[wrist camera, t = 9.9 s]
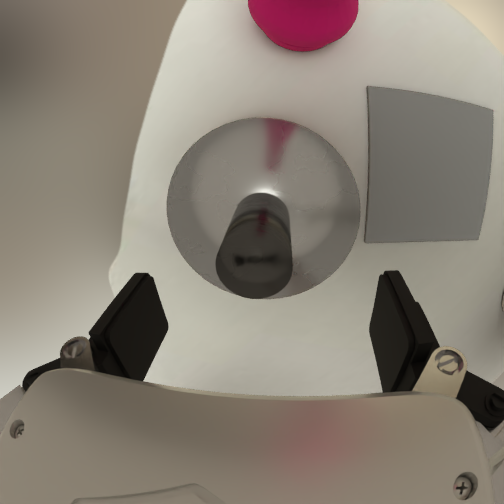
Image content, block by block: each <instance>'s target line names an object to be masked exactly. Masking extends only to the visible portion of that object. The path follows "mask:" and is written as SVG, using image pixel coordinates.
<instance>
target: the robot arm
mask: <svg viewBox="0 0 504 504" xmlns="http://www.w3.org/2000/svg"><path fill="white" fill-rule="evenodd" d="M502 308H503V312H504V295H503V300H502ZM167 331H168V322H167V319H166V316H165V313H164V310H163V307H162V304H161V301H160V298H159V295H158V292H157V288H156V285H155V282H154V279H153V277H152V276H150V275H149V274H148V273H135V274H134V275H133V276H132V277H131V279H130V280H129V281H128V282H127V284H126V285H125V286H124V287H123V289H122V290H121V291H120V292H119V294H118V295H117V296H116V297H115V299H114V300H113V301H112V302H111V304H110V305H109V306H108V308H107V309H106V310H105V311H104V313H103V314H102V315H101V317H100V318H99V319H98V321H97V322H96V323H95V325H94V326H93V327H92V329H91V330H90V331H89V335H90V339H89V340H88V339H87V338H85V337H74V338H72V339H70V340H68V341H67V342H66V343H65V344H64V345H63V346H62V348H61V351H60V358H58V359H56V360H54V361H52V362H49V363H47V364H45V365H42V366H40V367H38V368H35V369H33V370H31V371H29V372H28V373H27V375H26V376H25V378H24V380H23V385H22V386H23V387H21V386H20V385H19V386H17V387H16V388H15V389H14V390H12V391H11V392H9V393H8V394H7V395H5V396H4V397H3V398H1V399H0V504H504V391H503V390H502V389H500V388H499V387H497V386H495V385H493V384H491V383H489V382H487V381H485V380H483V379H482V378H480V377H478V376H476V375H474V374H472V373H470V372H468V371H466V370H467V361H466V358H465V356H464V355H463V354H462V353H461V352H460V351H459V350H457V349H455V348H453V347H447V346H443V347H440V346H439V344H438V341H437V339H436V337H435V335H434V333H433V331H432V328H431V326H430V324H429V322H428V320H427V318H426V316H425V314H424V312H423V310H422V308H421V306H420V304H419V303H418V302H415V300H414V298H413V296H412V294H411V292H410V290H409V289H408V287H407V285H406V283H405V281H404V279H403V277H402V275H401V274H400V272H399V271H398V270H396V271H385V272H384V274H383V275H380V276H379V281H378V287H377V292H376V298H375V303H374V308H373V313H372V317H371V322H370V327H369V332H370V337H371V341H372V345H373V349H374V354H375V358H376V362H377V367H378V371H379V376H380V380H381V385H382V390H383V393H372V394H357V395H336V396H264V395H245V394H232V393H220V392H211V391H202V390H194V389H186V388H179V387H172V386H166V385H160V384H154V383H149V382H143V380H144V378H145V376H146V374H147V372H148V370H149V368H150V366H151V364H152V362H153V359H154V357H155V355H156V353H157V351H158V349H159V347H160V345H161V343H162V341H163V339H164V337H165V335H166V333H167Z"/></svg>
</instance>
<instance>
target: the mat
mask: <svg viewBox="0 0 504 504" xmlns="http://www.w3.org/2000/svg"><path fill="white" fill-rule="evenodd" d="M367 99H368V123H369V171H368V197H367V214H366V227H365V238H364V242H365V243H388V242H424V241H463V240H478V239H479V235H480V231H481V226H482V221H483V216H484V211H485V206H486V200H487V194H488V187H489V179H490V170H491V160H492V146H493V110H491V109H488V108H484V107H481V106H478V105H474V104H470V103H466V102H462V101H458V100H454V99H450V98H445V97H440V96H435V95H430V94H425V93H419V92H413V91H406V90H399V89H391V88H382V87H372V86H367Z"/></svg>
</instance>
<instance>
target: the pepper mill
mask: <svg viewBox="0 0 504 504" xmlns="http://www.w3.org/2000/svg"><path fill="white" fill-rule="evenodd" d="M248 7H249V10H250V13H251V15H252V17H253V19H254V21H255V22H256V23H257V25H258V26H259V27H260V28H261V29H262V30H263V31H264V32H265V34H266V35H267V36H268V37H269V38H270V39H271V40H272V41H273V42H274V43H276V44H278V45H279V46H281V47H284V48H286V49H290V50H294V51H312V50H316V49H319V48H322V47H323V46H325V45H327V44H329V43H332V42H334V41H336V40H338V39H339V38H341V37H342V36H344V35H345V34H346V33H347V32H348V31H349V30H350V28H351V27H352V25H353V23H354V22H355V20H356V17H357V14H358V0H248Z"/></svg>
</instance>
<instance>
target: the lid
mask: <svg viewBox="0 0 504 504" xmlns="http://www.w3.org/2000/svg"><path fill="white" fill-rule="evenodd" d="M167 217H168V224H169V228H170V231H171V235H172V237H173V240H174V242H175V244H176V246H177V248H178V250H179V251H180V253H181V255H182V256H183V258H184V259H185V260H186V261H187V263H188V264H189V265H190V266H191V267H192V268H193V269H194V270H195V271H196V272H197V273H198V274H199V275H200V276H202V277H203V278H204V279H205V280H207V281H208V282H210V283H211V284H213V285H215V286H217V287H219V288H221V289H223V290H225V291H227V292H230V293H233V294H236V295H239V296H242V297H245V298H251V299H275V298H283V297H288V296H292V295H296V294H299V293H302V292H304V291H307V290H309V289H311V288H313V287H315V286H316V285H318V284H320V283H321V282H323V281H324V280H325V279H327V278H328V277H329V276H330V275H332V274H333V273H334V272H335V271H336V270H337V269H338V268H339V266H340V265H341V264H342V263H343V261H344V260H345V259H346V257H347V255H348V254H349V252H350V250H351V248H352V246H353V244H354V242H355V239H356V236H357V232H358V229H359V222H360V200H359V193H358V189H357V186H356V183H355V179H354V177H353V175H352V173H351V171H350V169H349V167H348V165H347V164H346V162H345V161H344V159H343V158H342V156H341V155H340V154H339V153H338V152H337V151H336V150H335V149H334V147H333V146H332V145H330V144H329V143H328V142H327V141H326V140H324V139H323V138H322V137H321V136H319V135H318V134H316V133H314V132H313V131H311V130H309V129H308V128H306V127H303V126H301V125H299V124H297V123H294V122H290V121H287V120H283V119H277V118H269V117H258V118H248V119H242V120H238V121H235V122H231V123H228V124H225V125H223V126H221V127H218V128H216V129H214V130H212V131H211V132H209V133H208V134H206V135H205V136H203V137H202V138H200V139H199V140H198V141H197V142H196V143H195V144H194V145H192V146H191V148H190V149H189V150H188V151H187V152H186V153H185V155H184V156H183V157H182V159H181V160H180V162H179V164H178V165H177V167H176V169H175V171H174V174H173V176H172V178H171V182H170V185H169V189H168V196H167Z"/></svg>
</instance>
